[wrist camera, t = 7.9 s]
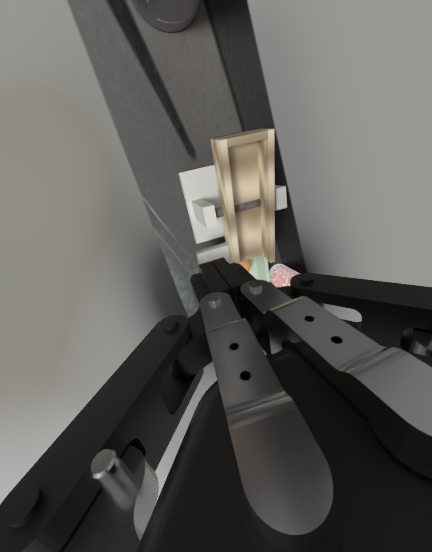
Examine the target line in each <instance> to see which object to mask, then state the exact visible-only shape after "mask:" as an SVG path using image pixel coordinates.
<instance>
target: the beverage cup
mask: <svg viewBox="0 0 432 552" xmlns="http://www.w3.org/2000/svg"><path fill="white" fill-rule="evenodd" d="M297 274H300V273H298V272H296V271H294V270H292V269H291V268H289V267H287V266H285V265H283V264H276V265H274V266H273V267H272V268H271V269H270V271H269V279H270V281H271V282H272V283H273V284H274V285H275V286H276V287H283V286H290V279H291V278H292V277H293V276H295V275H297Z"/></svg>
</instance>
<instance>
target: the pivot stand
mask: <svg viewBox="0 0 432 552" xmlns="http://www.w3.org/2000/svg"><path fill="white" fill-rule="evenodd" d="M179 177H180V181H181V185H182V189H183V193H184V197H185V201H186V205H187V209H188V213H189V217H190V221H191V225H192V229H193V233H194V237H195V241H196V243H197V244H198V243H201V242H205V241H208V240H212V239H215V238H219V237H222V236H225V234H224V228H223V221H222V217H219V218H216V213H215V208H218V207H220V200H219V193H218V186H217V180H216V173H215V166H214V165H211V166H207V167H203V168H198V169H194V170H190V171H185V172H181V173H179ZM283 208H287V198H286V186H278V185H275V210H280V209H283Z"/></svg>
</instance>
